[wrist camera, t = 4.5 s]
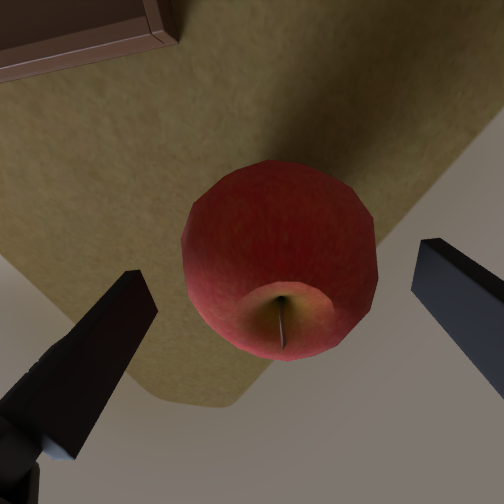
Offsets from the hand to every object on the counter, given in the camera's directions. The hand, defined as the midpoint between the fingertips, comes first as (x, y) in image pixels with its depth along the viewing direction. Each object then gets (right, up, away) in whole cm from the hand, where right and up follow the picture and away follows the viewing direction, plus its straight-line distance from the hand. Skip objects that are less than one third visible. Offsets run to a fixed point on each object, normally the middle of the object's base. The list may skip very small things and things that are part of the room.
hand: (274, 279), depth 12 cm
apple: (+1, +5, +9) cm, 10 cm away
